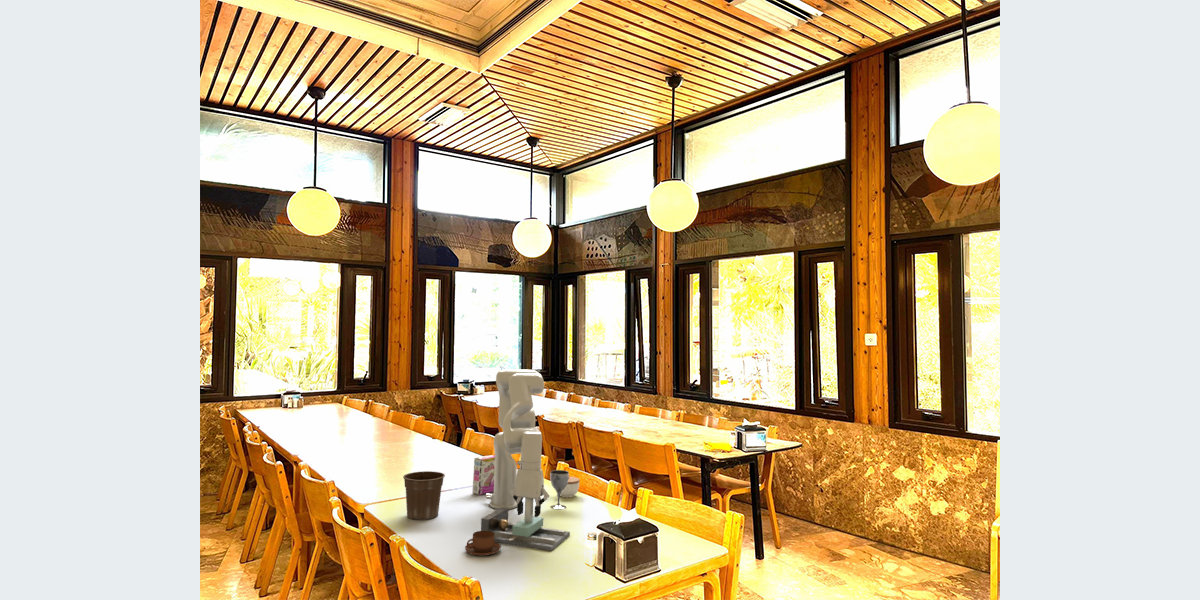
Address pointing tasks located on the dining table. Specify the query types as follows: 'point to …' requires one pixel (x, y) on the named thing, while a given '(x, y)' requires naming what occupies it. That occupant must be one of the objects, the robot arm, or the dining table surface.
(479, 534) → the cup and saucer
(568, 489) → the lidded jar
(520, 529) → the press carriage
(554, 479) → the wine glass
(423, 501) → the plant pot
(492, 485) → the candy bar box
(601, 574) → the dining table surface
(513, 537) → the press base
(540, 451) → the robot arm
